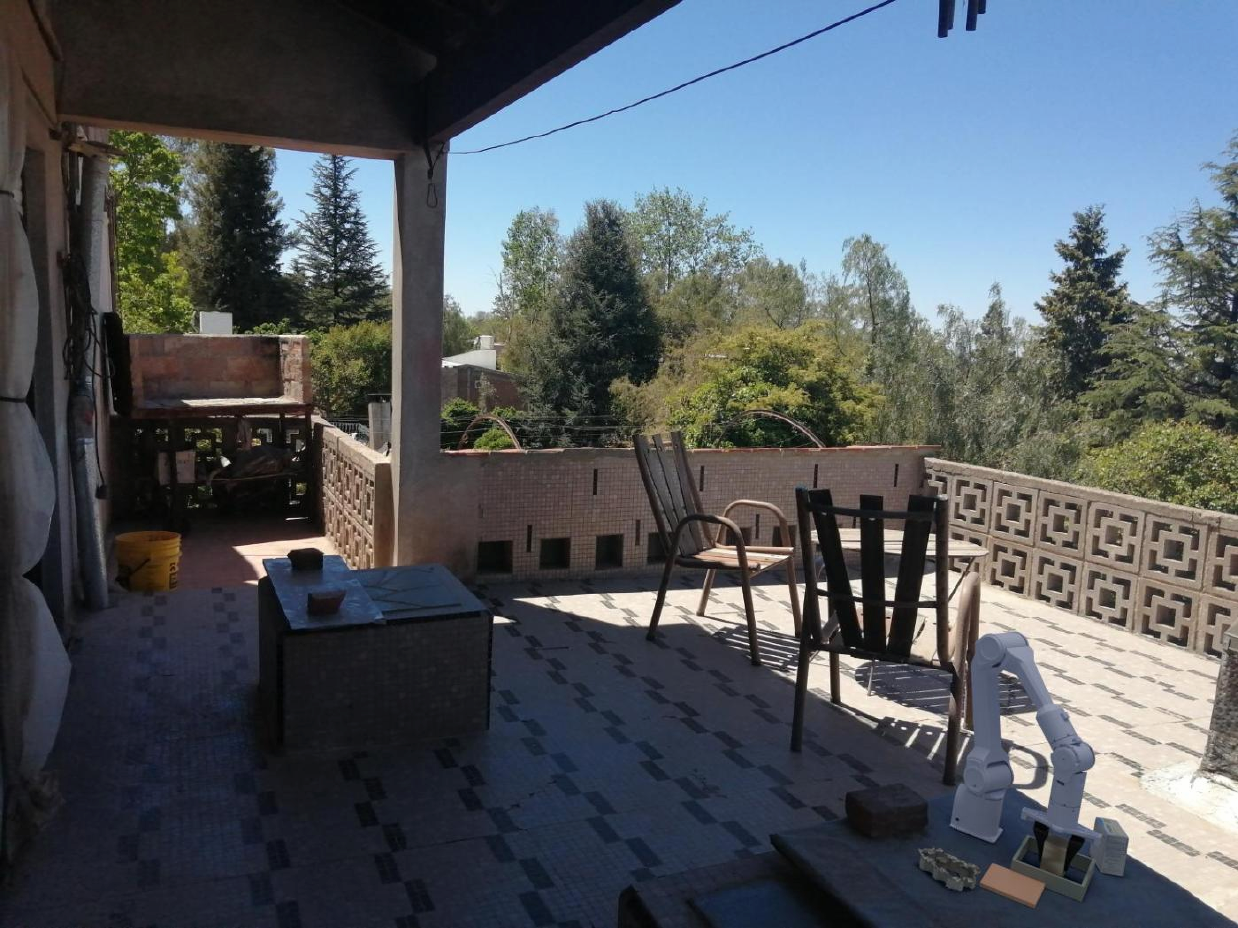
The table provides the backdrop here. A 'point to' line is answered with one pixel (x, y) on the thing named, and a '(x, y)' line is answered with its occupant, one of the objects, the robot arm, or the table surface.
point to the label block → (1054, 855)
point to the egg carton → (941, 862)
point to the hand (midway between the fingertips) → (1053, 864)
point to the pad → (1012, 885)
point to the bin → (1050, 879)
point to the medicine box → (1110, 847)
